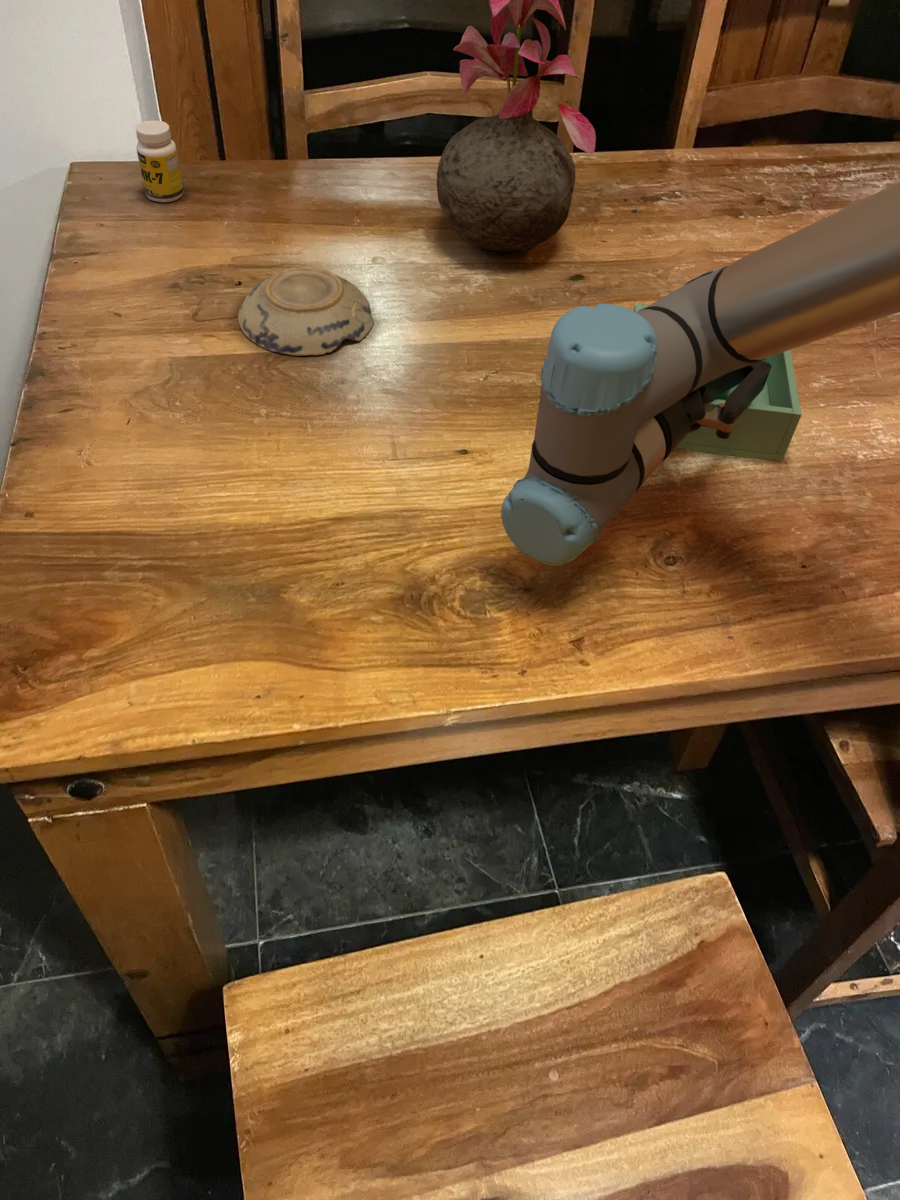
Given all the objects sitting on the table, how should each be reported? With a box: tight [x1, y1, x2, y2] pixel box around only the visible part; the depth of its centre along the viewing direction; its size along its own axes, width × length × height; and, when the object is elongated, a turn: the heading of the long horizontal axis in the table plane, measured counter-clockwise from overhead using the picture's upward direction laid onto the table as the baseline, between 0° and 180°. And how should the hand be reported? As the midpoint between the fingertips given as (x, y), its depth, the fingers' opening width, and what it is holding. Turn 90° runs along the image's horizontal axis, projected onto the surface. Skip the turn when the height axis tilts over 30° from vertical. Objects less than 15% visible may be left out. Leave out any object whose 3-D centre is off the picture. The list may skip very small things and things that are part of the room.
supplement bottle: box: [135, 120, 184, 204], centre depth 116 cm, size 5×5×8 cm
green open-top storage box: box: [633, 302, 803, 462], centre depth 94 cm, size 16×16×6 cm
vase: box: [436, 0, 597, 256], centre depth 104 cm, size 17×17×30 cm
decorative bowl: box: [237, 266, 374, 357], centre depth 102 cm, size 15×4×15 cm
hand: (740, 318), depth 94 cm, fingers closed on soda can, 5 cm apart
